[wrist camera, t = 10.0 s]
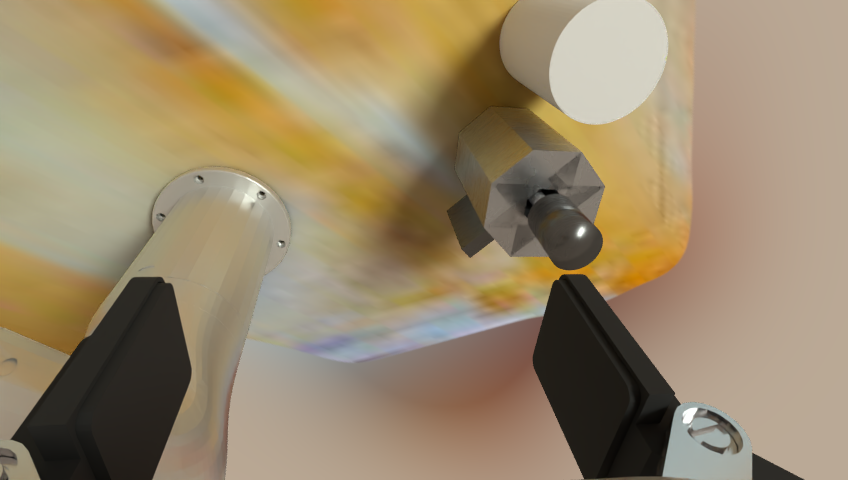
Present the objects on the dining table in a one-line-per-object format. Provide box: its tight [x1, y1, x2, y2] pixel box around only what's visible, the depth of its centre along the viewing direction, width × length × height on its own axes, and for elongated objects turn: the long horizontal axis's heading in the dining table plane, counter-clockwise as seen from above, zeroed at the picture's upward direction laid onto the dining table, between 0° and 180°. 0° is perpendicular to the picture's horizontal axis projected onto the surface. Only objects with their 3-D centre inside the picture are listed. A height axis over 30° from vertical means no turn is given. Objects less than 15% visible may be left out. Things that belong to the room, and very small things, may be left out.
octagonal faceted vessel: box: [447, 107, 605, 258], centre depth 41 cm, size 12×9×12 cm
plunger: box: [528, 190, 603, 270], centre depth 38 cm, size 4×4×17 cm
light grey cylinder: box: [500, 0, 668, 124], centre depth 36 cm, size 8×8×12 cm
